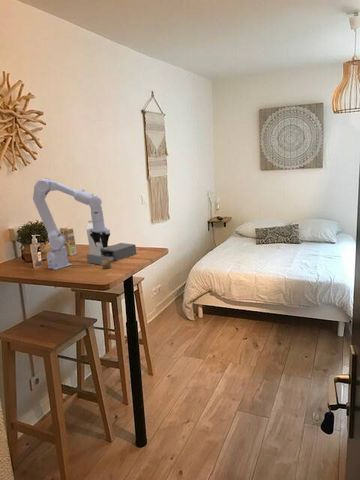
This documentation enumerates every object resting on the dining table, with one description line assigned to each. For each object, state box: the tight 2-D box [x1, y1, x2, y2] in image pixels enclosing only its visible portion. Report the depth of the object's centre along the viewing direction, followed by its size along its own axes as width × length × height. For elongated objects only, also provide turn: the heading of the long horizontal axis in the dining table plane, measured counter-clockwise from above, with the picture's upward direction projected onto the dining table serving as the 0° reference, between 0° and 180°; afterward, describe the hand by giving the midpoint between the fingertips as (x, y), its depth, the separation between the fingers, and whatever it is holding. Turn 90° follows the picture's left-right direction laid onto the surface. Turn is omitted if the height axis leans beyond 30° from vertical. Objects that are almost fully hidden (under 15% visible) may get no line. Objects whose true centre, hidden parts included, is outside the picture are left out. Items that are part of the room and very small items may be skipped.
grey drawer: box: [86, 253, 114, 266], centre depth 196 cm, size 14×12×4 cm
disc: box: [96, 241, 103, 247], centre depth 194 cm, size 6×6×2 cm
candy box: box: [59, 226, 78, 256], centre depth 217 cm, size 9×4×15 cm, turn 44°
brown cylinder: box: [101, 258, 112, 270], centre depth 182 cm, size 4×4×4 cm
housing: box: [100, 242, 137, 262], centre depth 202 cm, size 14×12×6 cm
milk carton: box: [86, 220, 103, 256], centre depth 210 cm, size 7×7×19 cm
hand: (101, 246), depth 194 cm, fingers closed on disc, 6 cm apart
